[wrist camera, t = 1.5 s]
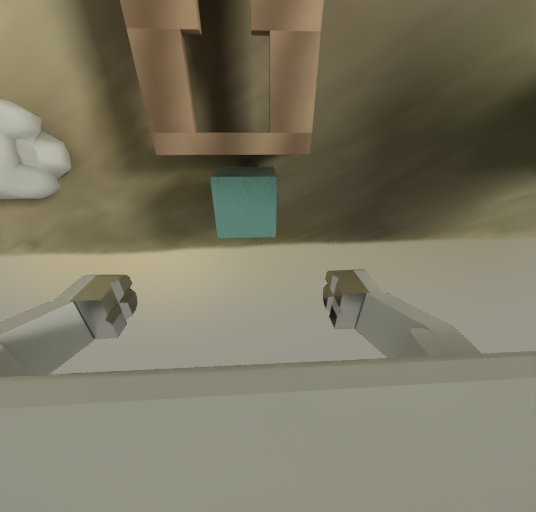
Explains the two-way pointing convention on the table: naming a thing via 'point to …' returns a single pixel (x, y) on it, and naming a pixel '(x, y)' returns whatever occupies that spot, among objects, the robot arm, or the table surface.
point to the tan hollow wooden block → (179, 87)
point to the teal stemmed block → (245, 201)
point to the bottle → (28, 155)
